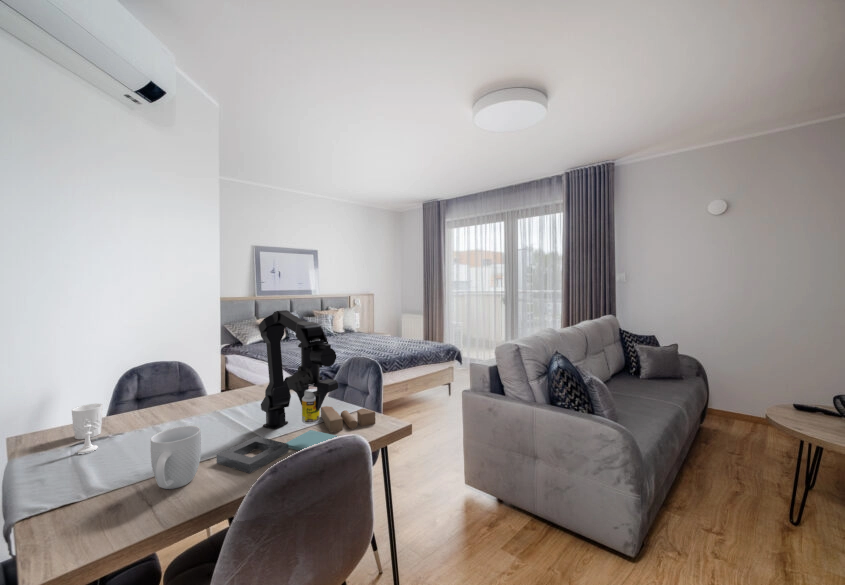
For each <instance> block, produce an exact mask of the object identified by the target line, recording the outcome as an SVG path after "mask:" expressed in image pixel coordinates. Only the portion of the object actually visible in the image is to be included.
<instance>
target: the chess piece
mask: <svg viewBox="0 0 845 585" xmlns="http://www.w3.org/2000/svg"><path fill="white" fill-rule="evenodd" d="M90 422H91V421H88V419H87V420H86V422H83V424H86V425H85V426H83V429H84V431H85V433H83V435H85V439H84V442H83V443H84V444H83V446H82V447H81V448H79V449H78V450H76V453H77V452H78V453H86V452H90V451H94V450H96V449H97V448H98V449H99V446H98V445H96V444H95V445H93V444H92V441H91V438H90V436H89V434H91V433H92V432H90V428H91V425H89V424H88V423H90ZM96 451H97V450H96ZM94 452H95V451H94Z"/></svg>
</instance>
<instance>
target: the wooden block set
mask: <svg viewBox="0 0 845 585" xmlns="http://www.w3.org/2000/svg"><path fill="white" fill-rule="evenodd" d="M356 414H357V416H356V418H357V420H356V419H355V417H353V416H352V414H351V413H350V412H349V411H348V410H342V411H341V412H340V413H339V412H338V411H337V410H335V409H334V407H333V406H327V405H324V406H321V408H320V417H321V419H322V420H323V422H324V425H325V426H326V428H327V430H328V431H329V433H335V432H339V431H343V430H344V427H343V426H344V425H343V423H345V424H346V425H347V426H348V428H349V429H350V430H354V429H356V428H358V424H359V425H360V426H361V427H364V426H369V425H373V424H376V412H375V411H374V410H371V409H370V410H369V409H366V408H363V407H362V408H360V409H357V411H356ZM343 421H344V422H343Z"/></svg>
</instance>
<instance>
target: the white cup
mask: <svg viewBox="0 0 845 585" xmlns="http://www.w3.org/2000/svg"><path fill="white" fill-rule="evenodd" d="M71 417H72V418H71V419H72V428H73V432H74V440H85V435H83V433H85V431H84V429H83V426H85V425H86V424H83V422H86V420H87V419H88V421H91V422H90V423H88V424H89V425H91V428H90V432H92V433H91V434H89V436H90V439H91V438H95V437H96V436H99V435H101V433H102V424H103V404H102V403H89V404H83V405H80V406H76V407H74V408H72V409H71Z"/></svg>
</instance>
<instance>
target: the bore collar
mask: <svg viewBox="0 0 845 585" xmlns="http://www.w3.org/2000/svg"><path fill="white" fill-rule="evenodd" d="M289 449H290V448H289V445H288V444H287V443H286V442H282V441H279V440H274V439H270V438H265V437H262V436H258V435H257V436H254V437H252V438H249V439H248V440H246V441H243V442H242V443H241V442H240V443H239V444H236V445H235V446H232V447H230V448H227V449H226V450H224V451H222V452H219V453H217V454H216V464H219V465H222V466H225V467H229V468H232V469H235V470H237V471H241V472H244V473H248V474H251V473H253V472H255V471H257V470H258V469H260V468H262V467H264V466H266V465H267V464H270V463H271V462H273V461H275V460H276V459H279V458H280V457H282V456H284V455H285V454H288V453H289ZM256 450H258V451H260V452H259V453H258V454H255V455H253V456H252V457H250V456H247V454H249V453H251V452H253V451H256Z"/></svg>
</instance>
